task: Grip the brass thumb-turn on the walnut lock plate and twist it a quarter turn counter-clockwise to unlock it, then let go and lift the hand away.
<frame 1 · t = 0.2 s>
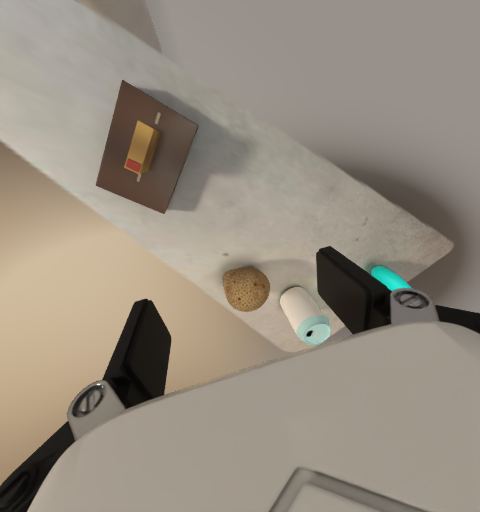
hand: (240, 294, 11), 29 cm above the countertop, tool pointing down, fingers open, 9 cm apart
donuts: (363, 281, 53), on the countertop
can: (292, 296, 51), on the countertop
thumbturn: (143, 148, 27), point 6 cm above the countertop, hinge at 0.0°
natural sponge: (241, 274, 46), on the countertop
lock plate: (150, 155, 32), on the countertop
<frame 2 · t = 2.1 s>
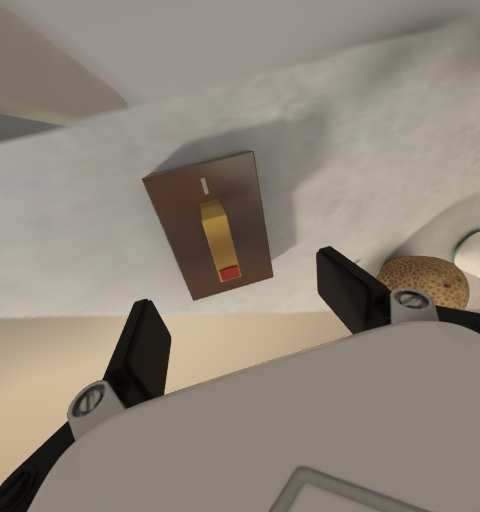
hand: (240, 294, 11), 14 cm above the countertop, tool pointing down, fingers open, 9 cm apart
can: (468, 247, 34), on the countertop
thumbturn: (219, 238, 18), point 6 cm above the countertop, hinge at 0.0°
natural sponge: (386, 268, 33), on the countertop
lock plate: (216, 227, 24), on the countertop
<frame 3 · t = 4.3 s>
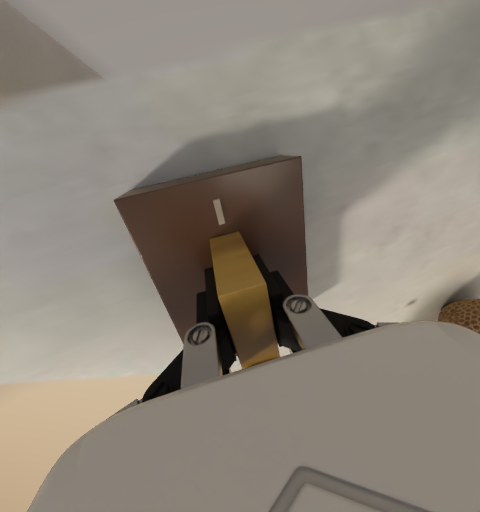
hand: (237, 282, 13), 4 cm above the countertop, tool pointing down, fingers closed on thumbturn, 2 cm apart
thumbturn: (243, 301, 11), point 6 cm above the countertop, hinge at 1.0°, touching gripper
natural sponge: (445, 308, 25), on the countertop
lock plate: (230, 263, 17), on the countertop
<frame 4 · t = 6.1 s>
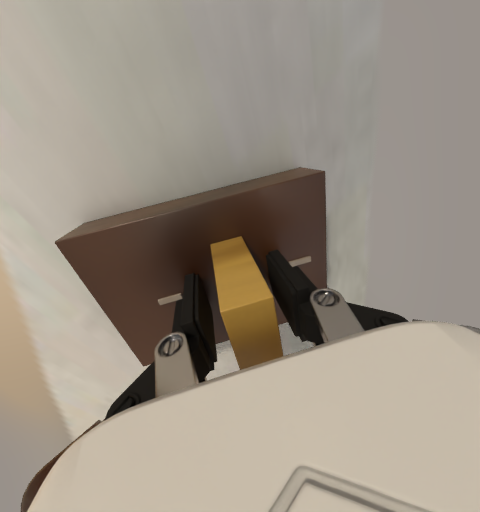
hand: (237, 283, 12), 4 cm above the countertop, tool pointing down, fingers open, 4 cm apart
thumbturn: (246, 311, 10), point 6 cm above the countertop, hinge at 89.8°
lock plate: (216, 261, 15), on the countertop
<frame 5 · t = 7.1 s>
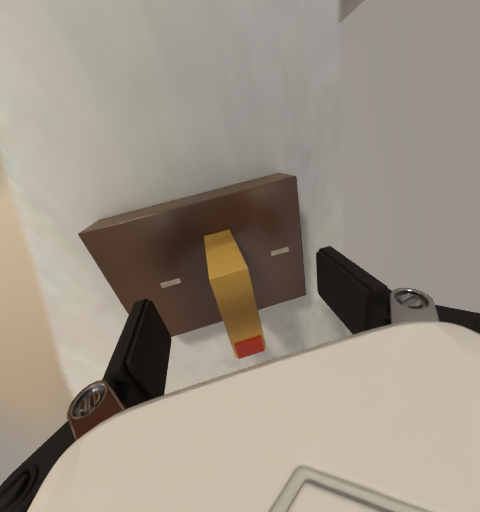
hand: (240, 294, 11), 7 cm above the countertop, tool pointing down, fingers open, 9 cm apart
thumbturn: (232, 288, 13), point 6 cm above the countertop, hinge at 89.8°
lock plate: (210, 253, 18), on the countertop
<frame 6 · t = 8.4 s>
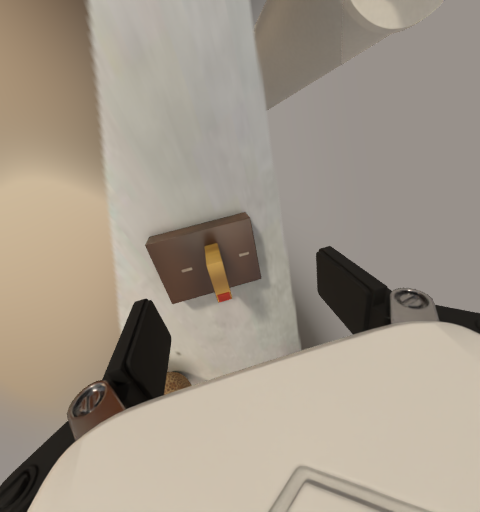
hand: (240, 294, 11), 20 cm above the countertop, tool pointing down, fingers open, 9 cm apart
thumbturn: (217, 271, 27), point 6 cm above the countertop, hinge at 89.8°
natural sponge: (172, 374, 42), on the countertop
lock plate: (207, 254, 32), on the countertop
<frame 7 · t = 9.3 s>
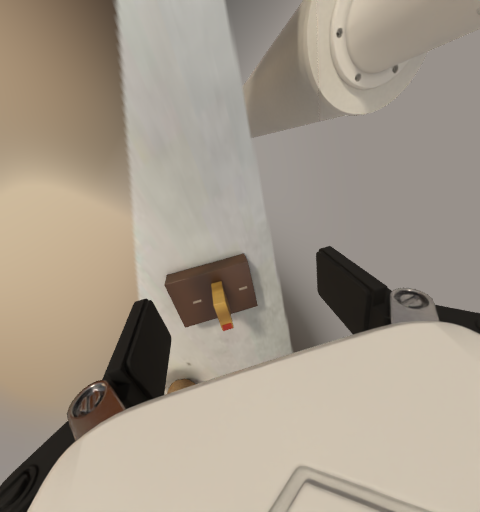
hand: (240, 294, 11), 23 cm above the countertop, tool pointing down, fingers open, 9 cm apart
thumbturn: (222, 305, 34), point 6 cm above the countertop, hinge at 89.8°
natural sponge: (183, 381, 49), on the countertop
lock plate: (213, 286, 39), on the countertop
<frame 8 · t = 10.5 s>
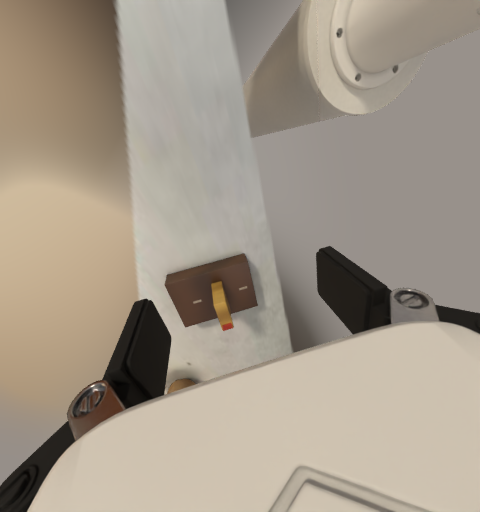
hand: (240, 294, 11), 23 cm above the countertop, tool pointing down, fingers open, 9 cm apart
thumbturn: (222, 305, 34), point 6 cm above the countertop, hinge at 89.8°
natural sponge: (183, 381, 49), on the countertop
lock plate: (213, 286, 39), on the countertop
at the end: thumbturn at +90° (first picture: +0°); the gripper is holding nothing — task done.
